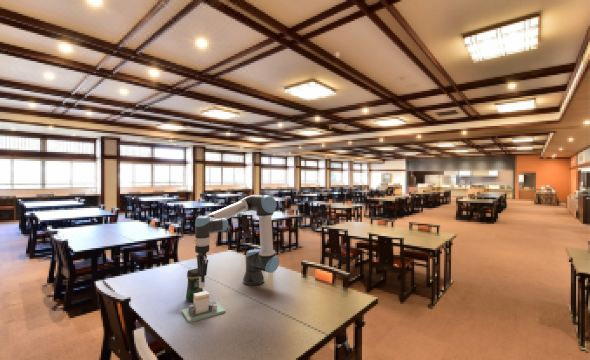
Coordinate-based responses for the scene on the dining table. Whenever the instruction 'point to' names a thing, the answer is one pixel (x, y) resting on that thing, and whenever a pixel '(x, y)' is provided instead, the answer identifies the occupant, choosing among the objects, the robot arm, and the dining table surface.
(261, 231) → the robot arm
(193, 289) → the coffee jar
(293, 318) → the dining table surface
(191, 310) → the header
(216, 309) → the board
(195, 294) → the plug
